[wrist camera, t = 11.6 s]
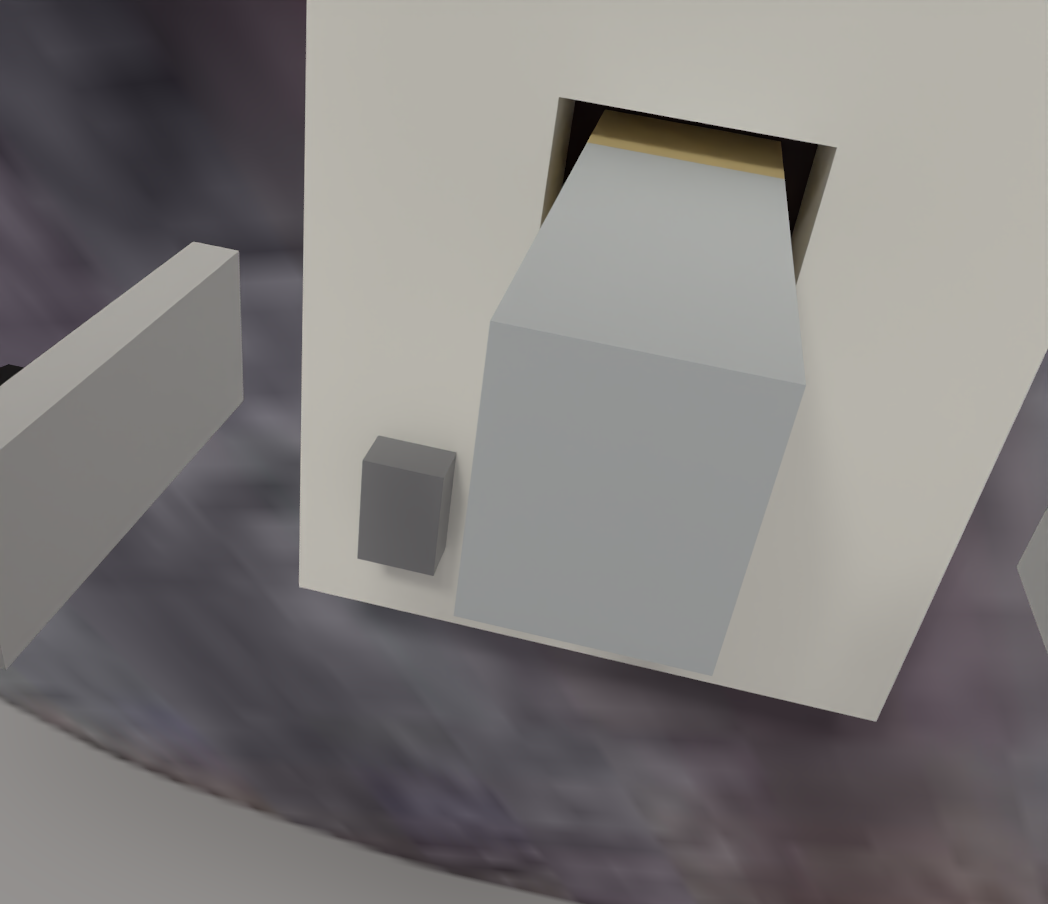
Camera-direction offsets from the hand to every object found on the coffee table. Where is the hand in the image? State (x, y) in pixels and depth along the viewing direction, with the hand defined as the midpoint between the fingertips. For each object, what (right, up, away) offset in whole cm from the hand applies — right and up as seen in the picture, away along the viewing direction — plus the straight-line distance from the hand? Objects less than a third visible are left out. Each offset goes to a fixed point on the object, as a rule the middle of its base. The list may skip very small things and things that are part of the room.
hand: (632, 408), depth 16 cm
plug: (+2, +5, +8) cm, 10 cm away
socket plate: (+2, +5, +8) cm, 10 cm away
